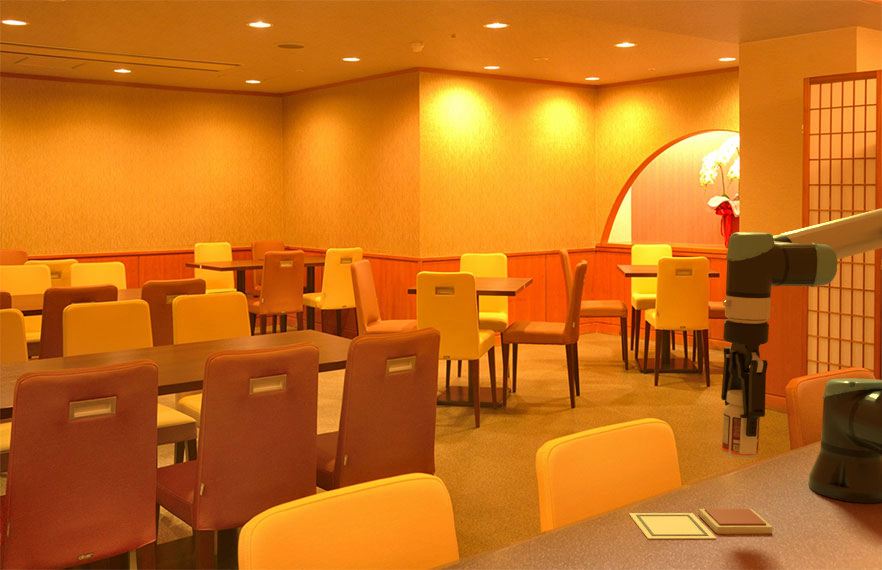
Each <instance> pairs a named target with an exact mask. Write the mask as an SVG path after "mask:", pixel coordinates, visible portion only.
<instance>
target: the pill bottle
mask: <svg viewBox="0 0 882 570" xmlns="http://www.w3.org/2000/svg"><path fill="white" fill-rule="evenodd" d="M727 402H728V403H730V404H728V405H727V406H726V405H725V407H724V408H723V419H722V421H723V422H722V440H721V441H722V445H721V449H722V450H721V451H722V452H721V453H723V455H725V456H727V457H730V458H733V459H740V460H741V459H742V460H745V459H746V460H751V459H755V458H757V457H758V455H759V442H760V441H759V440H760V419H761V417H760V418H758V429H757V448H756V454H741V453H739V452H740V432H741V417H740V415H742V414H744V408H743V395H742V390H730V391H728V392H727Z"/></svg>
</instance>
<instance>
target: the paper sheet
mask: <svg viewBox="0 0 882 570" xmlns="http://www.w3.org/2000/svg"><path fill="white" fill-rule="evenodd" d="M628 515H629V517H630V518H631V519H632V520H633V522H634V523H635V525H637V527H638V529H640V531H641V532H642V534H644V536H645V537H646V539H647V540H717V537H716V536H715V534H713V533H712V532H711V531H710V529H708V527H707V526H706V525H705V524H703V522H702V521H701V520H700V519H699V518H698V517H697V516H696V515H695V514H694V513H693V512H680V513H679V512H669V513H668V512H662V513H661V512H648V513H647V512H644V513H643V512H634V513H633V512H632V513H631V512H629V513H628Z"/></svg>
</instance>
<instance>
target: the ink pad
mask: <svg viewBox="0 0 882 570" xmlns="http://www.w3.org/2000/svg"><path fill="white" fill-rule="evenodd" d="M698 516H699V517H700V518H701V519H702V520H703V521H704V523H706V525H708V526H709V528H710V529H711V530H712V531H713V532H714V533H715V534H719V535H721V534H724V535H726V534H728V535H729V534H731V535H732V534H734V535H735V534H740V535H741V534H747V535H748V534H773V526H772V525H771V523H768V521H766V520H765V518H762V516H761V515H759V514H758V513H757V512H756V511H754V510H753V508H699V509H698Z"/></svg>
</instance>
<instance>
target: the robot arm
mask: <svg viewBox="0 0 882 570" xmlns="http://www.w3.org/2000/svg"><path fill="white" fill-rule="evenodd" d="M879 249H882V208H878V209H874V210H870V211H866V212H863V213H858V214H854V215H851V216H847V217H842V218H838V219H834V220H831V221H827V222H823V223H818V224H815V225H811V226H806V227H804V228H799V229H795V230H792V231H787V232H784V233H783V232H782V233H780V234H776V235H773V234H772V233H769V232H754V231H753V232H752V231H751V232H750V231H737V232H734V233H731V235H730V236H729V239H728V244H727V250H726V251H727V252H726V274H725V276H726V278H725V279H726V280H725V300H724V301H723V302H722V305H723V307H724V316H725V317H726V318H727V319H725V321H724V322H723V338H722V339H724V341H725V342H727V343H731V346H730V347H724V348H723V370H722V371H723V372H722V382H721V393H720V394H721V397H720V398H721V401H724V405H725V407H726V406H727V405H728V404H730V403H728V402H727V392H728V391H730V390H742V395H743V408H744V414H742V415H740V417H741V432H740V452H739V453H741V454H756V448H757V429H758V418H760V419H761V418H765V416H766V390H767V389H766V385H767V382H766V380H767V379H766V377H767V369H768V360H766V359H762V360H761V354H760V346H761V345H765V344H767V343H768V341H769V335H770V334H769V331H770V324H769V323H768V320H769V319H770V318H771V303H772V302H771V301H772V300H771V298H772V296H771V292H772V287H779V286H780V287H811V288H815V287H819V286H826V285H829V284H830V283H832V282H833V280H834V279H835V278H836V275H837V272H838V260H841V259H844V258H848V257H852V256H856V255H859V254H864V253H867V252H871V251H875V250H879ZM822 400H823V402H822V403H823V404H822V419H821V420H822V421H821V434H820V436H821V437H820V448H819V449H820V450H819V452H818V455H817V457H816V459H815V461H814V463H813V465H812V469H811V470H810V473H809V477H808V487H809V488H810V490H812V491H813V492H815V493H817V494H819V495H822V496H825V497H827V498H831V499H835V500H839V501H844V502H851V503H859V504H860V503H862V504H875V503H876V504H877V503H882V379H876V378H875V379H872V378H852V377H851V378H847V377H846V378H845V377H844V378H842V377H841V378H832V379H830V380H828V381H827V382H826V384H825V387H824V392H823V396H822Z"/></svg>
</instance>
